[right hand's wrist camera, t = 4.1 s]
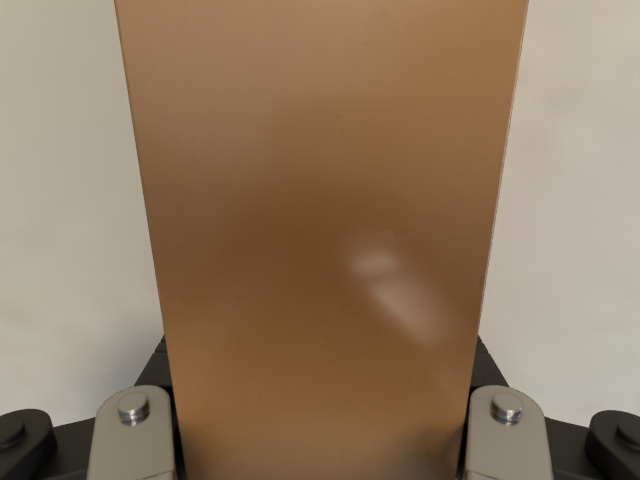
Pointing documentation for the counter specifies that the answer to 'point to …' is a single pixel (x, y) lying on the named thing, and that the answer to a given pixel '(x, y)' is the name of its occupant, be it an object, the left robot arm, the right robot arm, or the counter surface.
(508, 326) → the counter surface
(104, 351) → the counter surface
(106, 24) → the counter surface
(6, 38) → the counter surface
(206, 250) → the post
